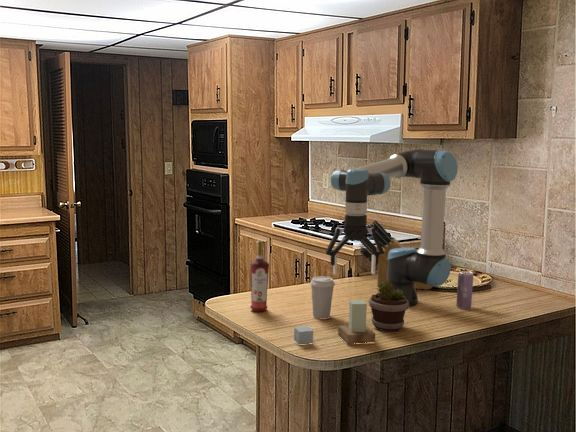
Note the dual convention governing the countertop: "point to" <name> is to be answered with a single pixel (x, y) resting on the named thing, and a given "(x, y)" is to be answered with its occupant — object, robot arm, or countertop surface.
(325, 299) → the coffee cup
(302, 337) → the blue-grey cube
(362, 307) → the sage block
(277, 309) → the countertop surface
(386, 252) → the knife block
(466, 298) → the beverage can
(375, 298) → the flowerpot
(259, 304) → the liquor
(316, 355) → the countertop surface
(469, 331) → the countertop surface
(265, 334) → the countertop surface
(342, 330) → the walnut block
